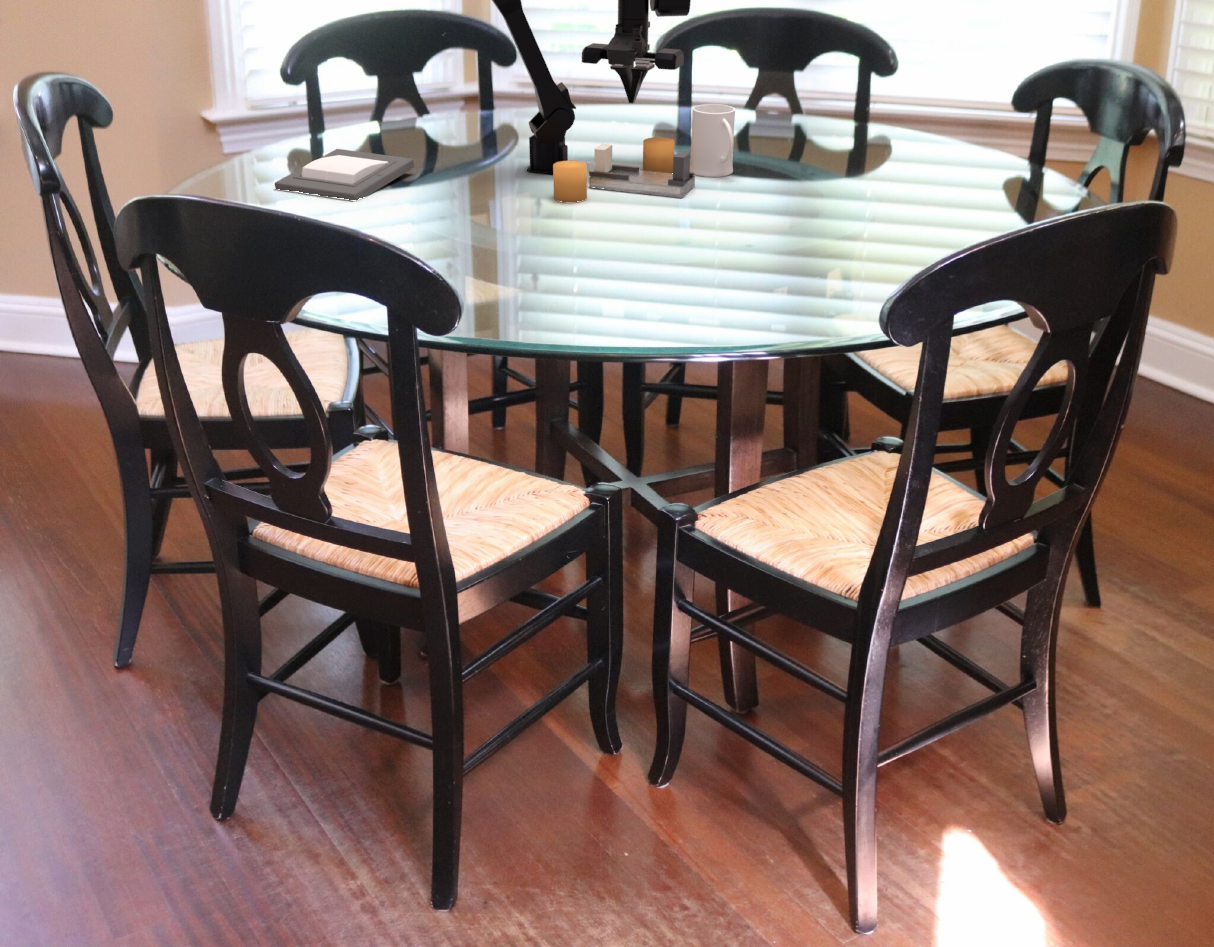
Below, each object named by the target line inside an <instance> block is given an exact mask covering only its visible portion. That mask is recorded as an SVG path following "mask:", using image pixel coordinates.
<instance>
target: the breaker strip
mask: <svg viewBox="0 0 1214 947" xmlns="http://www.w3.org/2000/svg"><path fill="white" fill-rule="evenodd" d="M588 176H589V177H588V188H589V187H595V188H604V189H609V190H608V191H612V190H617V191H616V192H621V191H623V193H631V194H640V195H649V194H651V195H650V196H657V197H659V196H660V197H667V196H668V197H669V198H676V197H678V199H684V197H685V196H686V195H687V194H688V193H689V192H690V191H691V190H692V189H693V188H695V187H696V186H695V185H696V183H695V182H696V181H695V180H696V175H694V173H692V172H690V174H689V178H687V179H686V180H675V179H673V174H672V173H662V172H652V171H643V169H642V170H640V167H639V166H632V165H623V164H613V163H612V169H611V170H610V171H608V172H598V171H595V170H589V171H588Z"/></svg>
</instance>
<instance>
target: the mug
mask: <svg viewBox="0 0 1214 947" xmlns="http://www.w3.org/2000/svg"><path fill="white" fill-rule="evenodd" d="M691 113H692V114H691V116H692V117H691V138H690V140H691V141H690V142H691V143H690V172H692V173H694V176H698V177H703V178H704V177H705V178H721V177H727V176H730V175H732V174H733V173H734V167H733V158H734V157H733V154H734V139H735V137H734V136H735V122H736V121H735V120H736V108H735V107H734V106H730V105H726V104H720V103H719V104H718V103H703V104H698V105H695V106H693V107H692V112H691Z"/></svg>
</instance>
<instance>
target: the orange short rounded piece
mask: <svg viewBox="0 0 1214 947" xmlns="http://www.w3.org/2000/svg"><path fill="white" fill-rule="evenodd" d="M675 143H676V142H675V140H674V139H673V138H667V137H657V136H655V137H648V138H645V139H643V141H642V170H643V171H652V172H662V173H673V157H674V156H675V145H676V144H675Z"/></svg>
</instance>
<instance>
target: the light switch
mask: <svg viewBox="0 0 1214 947" xmlns="http://www.w3.org/2000/svg"><path fill="white" fill-rule="evenodd" d="M414 168H415V162H414V159H413V158H409V157H403V156H396V155H386V154H378V153H371V152H363V151H357V150H356V151H355V150H351V149H350V150H348V149H342V148H336V149H334V150H331V151H330V152H328V153H327V154H325V155H323V156H321V157H320V158H318V159H315V160H313V161H311V162H309V163H307V164H305V165H304V166H303V167H301V168H298V169H297V170H296V171H293V172H292V173H290V174H288V175H286V176H285V177H282V178H281V179H279V180H277V181H275V182H274V189H275V188H276V189H280V190H279V191H281V190H289V191H299V192H303V193H309V194H318V195H320V196H328V197H337V198H344V199H349V200H358V199H359V198H362V199H364V198H363V197H365V198H366V197H367V198H368V196H370V195H372V194H373V193H375V192H376V191H378V190H380V189H382V188H383V187H384V186H386V185H388V184H390V183H391V182H392V181H394V180H396V179H397V178H399V177H401V176H403V175H404V174H406V173H407V172H409V171H411V170H412V169H414ZM276 189H275V190H276ZM320 196H319V197H320ZM358 201H359V200H358Z"/></svg>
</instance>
